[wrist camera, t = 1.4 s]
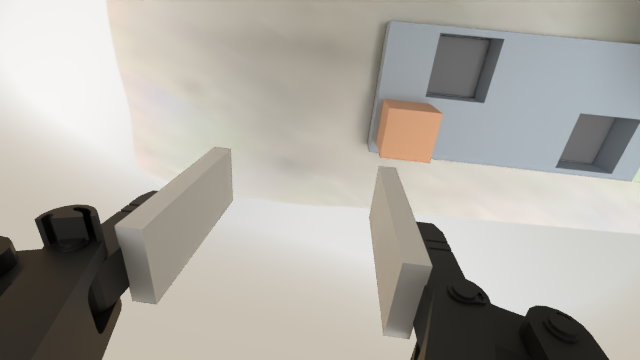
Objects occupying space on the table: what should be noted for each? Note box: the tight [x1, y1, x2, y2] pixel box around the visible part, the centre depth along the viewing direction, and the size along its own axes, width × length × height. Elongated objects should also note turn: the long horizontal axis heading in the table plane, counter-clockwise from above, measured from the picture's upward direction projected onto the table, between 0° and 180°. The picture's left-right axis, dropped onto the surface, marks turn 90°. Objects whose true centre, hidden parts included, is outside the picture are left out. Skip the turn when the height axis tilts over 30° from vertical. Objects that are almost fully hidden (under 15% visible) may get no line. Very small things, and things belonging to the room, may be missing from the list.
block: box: [376, 99, 443, 163], centre depth 25 cm, size 4×4×4 cm
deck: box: [367, 21, 640, 183], centre depth 25 cm, size 30×11×5 cm, turn 85°
